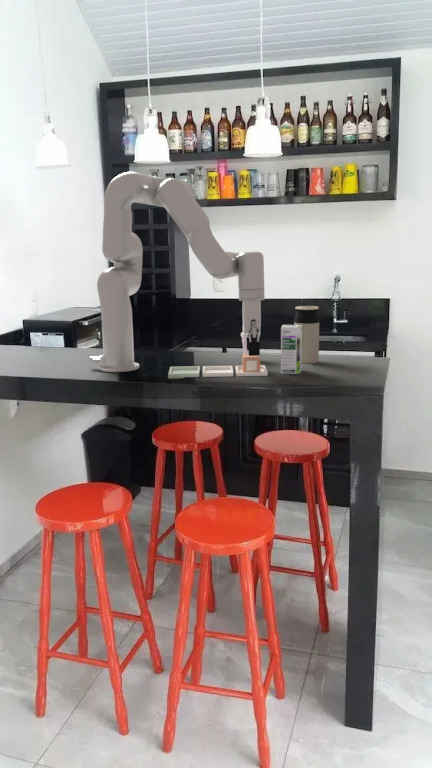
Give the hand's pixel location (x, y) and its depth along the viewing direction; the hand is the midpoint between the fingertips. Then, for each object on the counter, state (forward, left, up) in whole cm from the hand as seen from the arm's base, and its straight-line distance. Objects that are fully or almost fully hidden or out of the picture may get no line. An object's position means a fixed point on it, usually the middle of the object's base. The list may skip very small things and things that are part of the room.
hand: (253, 352), depth 193 cm
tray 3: (-1, 0, -6) cm, 6 cm away
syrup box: (+11, 0, -7) cm, 13 cm away
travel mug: (+18, +17, -7) cm, 26 cm away
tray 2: (-11, 0, -6) cm, 12 cm away
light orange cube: (-1, 0, -6) cm, 6 cm away
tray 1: (-21, 0, -6) cm, 22 cm away
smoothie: (0, +19, -7) cm, 20 cm away
